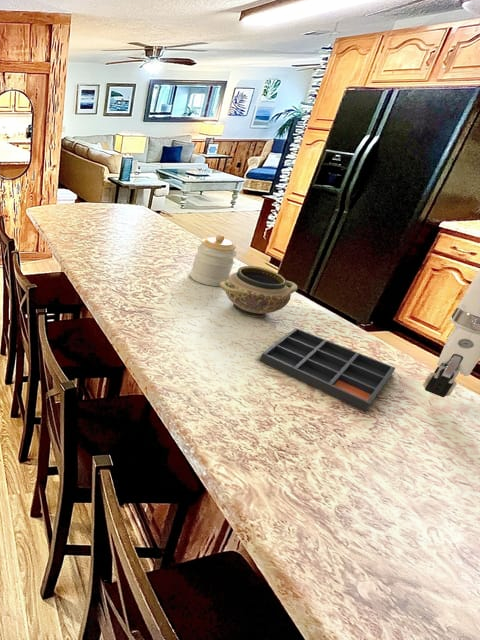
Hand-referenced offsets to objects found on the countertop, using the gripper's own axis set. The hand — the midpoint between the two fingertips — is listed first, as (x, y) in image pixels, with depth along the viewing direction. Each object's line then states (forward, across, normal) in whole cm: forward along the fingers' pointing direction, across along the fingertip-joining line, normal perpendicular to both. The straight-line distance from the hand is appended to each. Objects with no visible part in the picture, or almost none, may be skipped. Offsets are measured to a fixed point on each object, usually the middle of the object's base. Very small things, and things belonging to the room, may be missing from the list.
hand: (437, 388), depth 88 cm
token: (0, 0, 0) cm, 0 cm away
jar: (+3, +20, +64) cm, 67 cm away
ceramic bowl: (+3, +8, +44) cm, 45 cm away
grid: (+3, -6, +19) cm, 20 cm away
